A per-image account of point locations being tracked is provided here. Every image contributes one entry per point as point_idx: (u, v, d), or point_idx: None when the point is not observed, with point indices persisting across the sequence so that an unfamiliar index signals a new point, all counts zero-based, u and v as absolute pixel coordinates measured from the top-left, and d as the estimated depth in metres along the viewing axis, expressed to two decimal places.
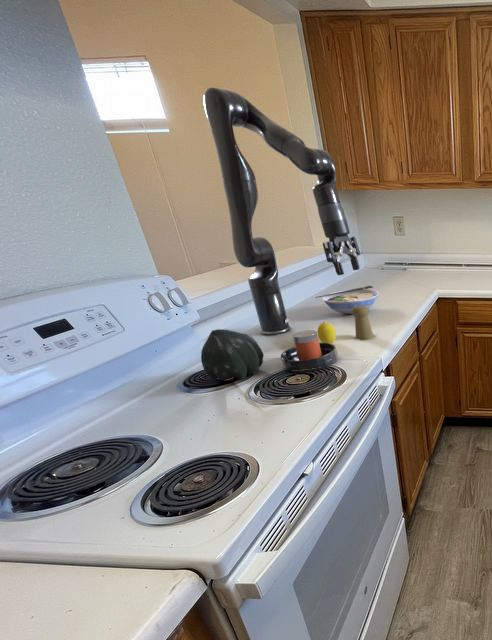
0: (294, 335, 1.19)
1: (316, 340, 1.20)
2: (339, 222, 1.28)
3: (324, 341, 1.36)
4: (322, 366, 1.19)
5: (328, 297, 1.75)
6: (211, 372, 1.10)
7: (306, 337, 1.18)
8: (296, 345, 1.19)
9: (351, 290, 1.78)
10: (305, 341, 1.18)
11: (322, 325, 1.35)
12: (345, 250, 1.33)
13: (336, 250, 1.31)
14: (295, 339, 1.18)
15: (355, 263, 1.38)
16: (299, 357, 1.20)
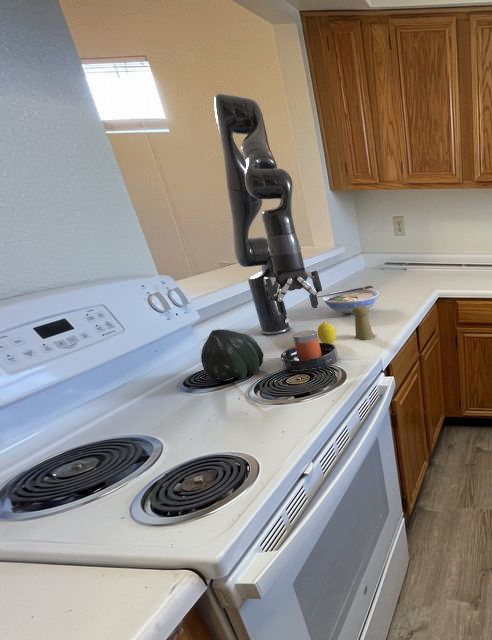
0: (294, 335, 1.19)
1: (316, 340, 1.20)
2: (284, 257, 1.08)
3: (324, 341, 1.36)
4: (322, 366, 1.19)
5: (328, 297, 1.75)
6: (211, 372, 1.10)
7: (306, 337, 1.18)
8: (296, 345, 1.19)
9: (351, 290, 1.78)
10: (305, 341, 1.18)
11: (322, 325, 1.35)
12: (295, 287, 1.14)
13: (282, 286, 1.13)
14: (295, 339, 1.18)
15: (312, 301, 1.19)
16: (299, 357, 1.20)
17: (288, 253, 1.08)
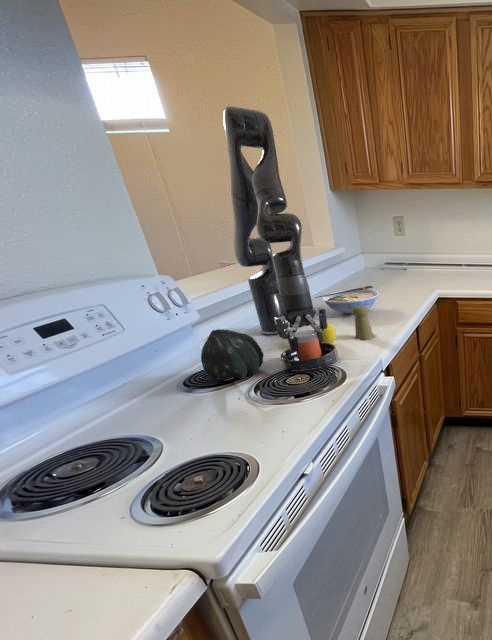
0: None
1: (316, 340, 1.20)
2: (293, 297, 1.12)
3: (324, 341, 1.36)
4: (322, 366, 1.19)
5: (328, 297, 1.75)
6: (211, 372, 1.10)
7: (306, 337, 1.18)
8: None
9: (351, 290, 1.78)
10: (305, 341, 1.18)
11: None
12: (303, 324, 1.18)
13: (292, 324, 1.17)
14: (295, 339, 1.18)
15: None
16: (299, 357, 1.20)
17: (297, 293, 1.12)
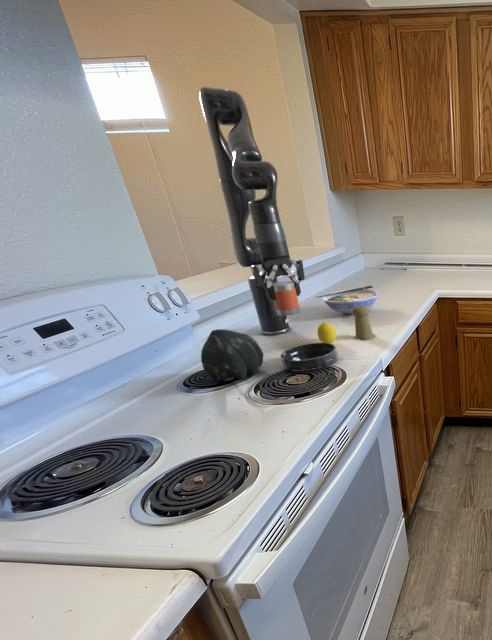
0: None
1: (293, 290, 1.23)
2: (269, 245, 1.15)
3: (324, 341, 1.36)
4: (322, 366, 1.19)
5: (328, 297, 1.75)
6: (211, 372, 1.10)
7: (282, 286, 1.20)
8: None
9: (351, 290, 1.78)
10: (282, 290, 1.21)
11: (322, 325, 1.35)
12: (280, 273, 1.21)
13: (269, 273, 1.20)
14: (272, 288, 1.21)
15: None
16: (276, 306, 1.23)
17: (273, 241, 1.15)
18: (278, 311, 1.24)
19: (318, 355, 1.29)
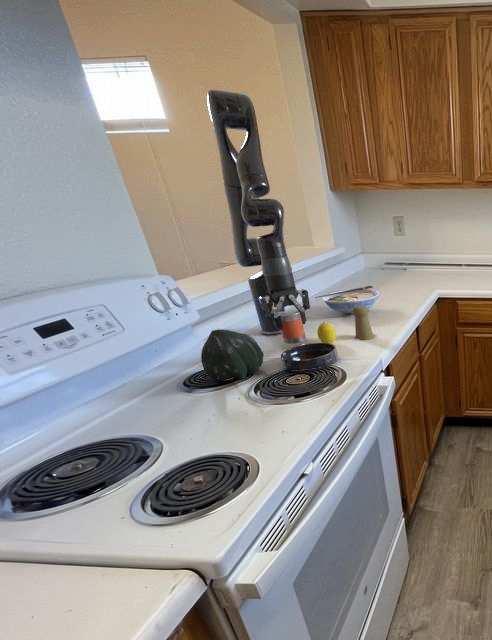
0: None
1: (299, 319, 1.28)
2: (276, 278, 1.20)
3: (324, 341, 1.36)
4: (322, 366, 1.19)
5: (328, 297, 1.75)
6: (211, 372, 1.10)
7: (289, 316, 1.25)
8: None
9: (351, 290, 1.78)
10: (288, 320, 1.26)
11: (322, 325, 1.35)
12: (287, 304, 1.26)
13: None
14: (279, 318, 1.26)
15: (301, 317, 1.30)
16: (283, 335, 1.28)
17: (280, 274, 1.20)
18: (285, 339, 1.28)
19: (318, 355, 1.29)
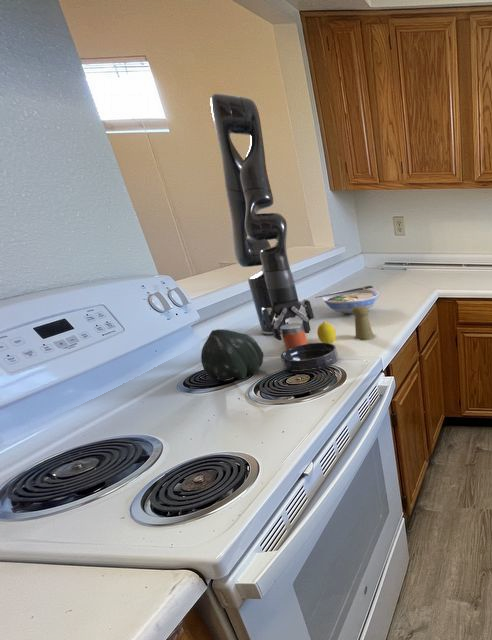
0: (282, 327, 1.28)
1: (302, 332, 1.30)
2: (279, 290, 1.21)
3: (324, 341, 1.36)
4: (322, 366, 1.19)
5: (328, 297, 1.75)
6: (211, 372, 1.10)
7: (292, 329, 1.27)
8: (283, 336, 1.28)
9: (351, 290, 1.78)
10: (292, 333, 1.27)
11: (322, 325, 1.35)
12: (289, 315, 1.27)
13: (278, 315, 1.26)
14: (282, 331, 1.27)
15: (305, 327, 1.32)
16: (286, 348, 1.29)
17: (283, 287, 1.21)
18: None
19: (318, 355, 1.29)
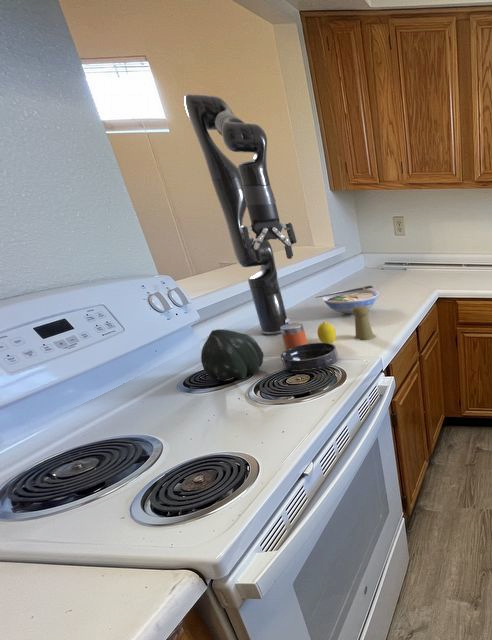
0: (282, 327, 1.28)
1: (302, 332, 1.30)
2: (259, 207, 1.17)
3: (324, 341, 1.36)
4: (322, 366, 1.19)
5: (328, 297, 1.75)
6: (211, 372, 1.10)
7: (292, 329, 1.27)
8: (283, 336, 1.28)
9: (351, 290, 1.78)
10: (292, 333, 1.27)
11: (322, 325, 1.35)
12: (270, 237, 1.23)
13: (258, 236, 1.22)
14: (282, 331, 1.27)
15: (287, 251, 1.28)
16: (286, 348, 1.29)
17: (263, 203, 1.17)
18: None
19: (318, 355, 1.29)
